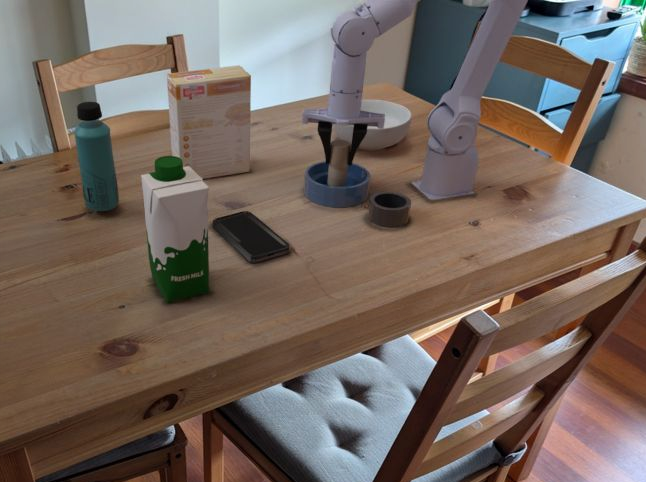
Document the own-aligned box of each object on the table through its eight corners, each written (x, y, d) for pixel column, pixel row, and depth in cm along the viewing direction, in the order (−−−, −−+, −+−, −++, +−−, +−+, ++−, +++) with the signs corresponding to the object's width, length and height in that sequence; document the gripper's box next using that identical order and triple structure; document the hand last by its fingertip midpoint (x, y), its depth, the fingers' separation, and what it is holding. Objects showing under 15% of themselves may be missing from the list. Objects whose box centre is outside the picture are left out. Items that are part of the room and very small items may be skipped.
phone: (247, 209, 126) (292, 246, 115) (247, 215, 126) (291, 252, 116) (209, 219, 123) (251, 258, 113) (209, 225, 124) (251, 264, 113)
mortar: (396, 209, 128) (399, 189, 126) (414, 227, 123) (418, 206, 120) (360, 214, 127) (363, 194, 124) (378, 232, 121) (381, 212, 119)
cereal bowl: (331, 128, 159) (334, 97, 155) (404, 131, 158) (409, 100, 153) (329, 157, 146) (332, 125, 142) (409, 161, 145) (414, 128, 140)
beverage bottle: (127, 206, 130) (115, 100, 117) (108, 222, 125) (94, 113, 113) (98, 200, 132) (83, 95, 119) (78, 215, 127) (61, 107, 115)
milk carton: (195, 266, 113) (191, 150, 101) (217, 295, 107) (215, 174, 94) (145, 278, 110) (133, 160, 98) (164, 308, 104) (154, 186, 91)
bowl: (351, 178, 139) (353, 157, 136) (378, 205, 129) (381, 183, 127) (294, 186, 136) (295, 164, 133) (318, 214, 127) (320, 192, 124)
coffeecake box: (239, 159, 146) (240, 64, 134) (250, 172, 141) (252, 75, 129) (171, 168, 143) (165, 72, 130) (180, 183, 137) (175, 83, 125)
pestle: (341, 178, 133) (345, 138, 128) (349, 186, 130) (353, 145, 125) (324, 181, 132) (327, 140, 127) (331, 189, 129) (335, 148, 124)
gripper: (302, 93, 118) (297, 168, 126) (388, 98, 116) (377, 174, 124) (306, 80, 123) (301, 153, 132) (388, 85, 121) (378, 158, 130)
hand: (338, 162), depth 128 cm, fingers closed on pestle, 3 cm apart
